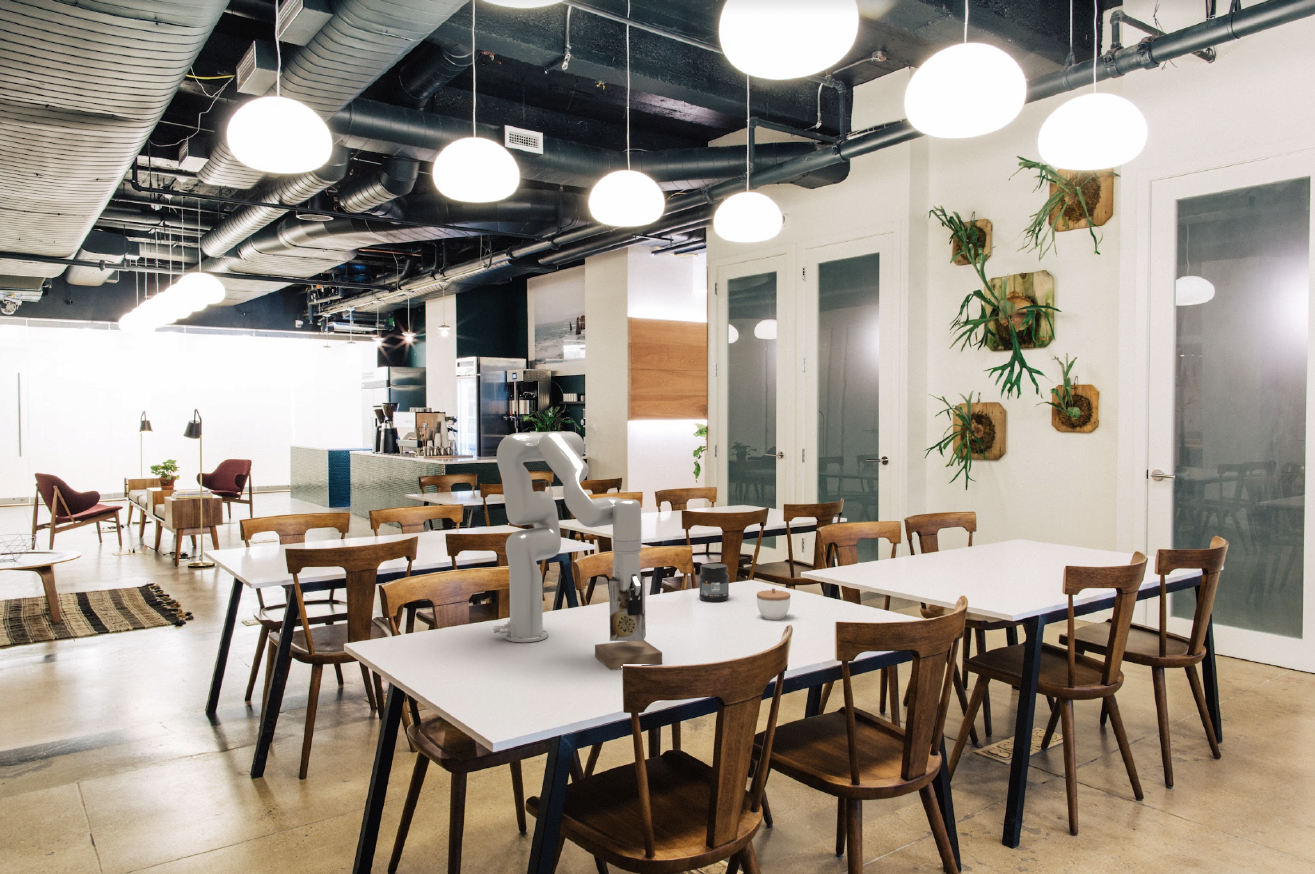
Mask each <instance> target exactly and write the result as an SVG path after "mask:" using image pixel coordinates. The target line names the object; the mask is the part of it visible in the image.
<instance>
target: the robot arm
mask: <svg viewBox="0 0 1315 874" xmlns="http://www.w3.org/2000/svg"><path fill="white" fill-rule="evenodd" d="M585 449H586V448H585V442H584V439H583V438H582V437H581V435H580V434H578V433H576V432H574V431H551V432H549V431H548V432H517V433H516V432H515V433H511V434H509V435H507V436H504V438H503V439H501V441H500V442H499V444H498V446H497V450H496V462H497V466H498V470H499V474H500V477H501V481H502V491H503V498H504V505H505V510H506V511H505V513H506V516H507V520H508V522H510V524H512V525H514V526H526V525H533V527H534V528H528V529H527V528H526V529H520V530H517V531H515V532H513V533H511V534H510V535H509V536H507V537H508V538H507V539H506V542H505V554H506V559H507V563H508V564H507V565H508V575H509V576H508V578H509V579H508V580H509V620H508V621H506V622H507V623H505V624H504V625H495V626H493V633H494V634H497V633H499V634H500V635H502V634H504V639H505V640H506V641H509V642H513V643H532V642H539V641H543V640H545V639H547V638H548V636H549V631H548V630H546V629H543V626H544V623H543V621H544V619H543V616H544V615H543V611H544V610H543V608H544V605H543V574H542V571H541V569H540V567H539V565H538V563H537V562H538V561H542V560H549V559H551V558H553V557H556V556H557V555H558V554H559V552H560V550H561V545H562V538H561V537H562V536H561V535H562V534H561V529H560V522H559V514H558V507H557V504H556V502H555V500H554V498H553V496H552V495H551V494H550V493H548V492H546V491H541V490H538V491H534V489H533V481H532V477H531V474H530V472H529V470H528V469H527V467H526V465H524V463H525V462H527V463H528V462H545V463H546V464H547V465H548V466H549V468H550V469H551V470H552V471H553V473H554V474H555V475H556V476H557V478H558V479H559V481H560V482H561V483H562V495H563V500H564V503H565V506H566V508H567V509H568V510H569V512H570V513H571V514H572V516H573V517H574V518H575V519H576V520H577V522H579V523H580V524H581V525H582V526H585V527H586V528H596V527H601V526H602V527H604V526H610V525H611V526H612V552H613V560H612V562H613V563H612V577H615V578H616V579H617V580H619V581H620V590H621V591H626V590H627V594H628V598H629V600H627V613H628V615H629V616H632V615H639V614H640V589H641V586H640V585H641V576H642V574H641V559H640V553H642V505H641V502H640V500H637V499H632V498H631V499H628V498H626V499H623V498H619V497H616V496H604V497H597V498H591V497H590V496H589V495H588V494H587V492H586V491H585V490H584V488H583V487H582V485H581V483H582V482H583V481H584V480H585V479H586V477H587V476H588V474H589V471H590V469H589V466H588V464H587V463H586V462H585V460H584V459H583V458H582V457H583V455H584V453H585ZM631 581H632V583H633V585H634V588H629V587H630V584H631ZM631 592H632V595H631Z"/></svg>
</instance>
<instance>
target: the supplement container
mask: <svg viewBox="0 0 1315 874" xmlns="http://www.w3.org/2000/svg"><path fill="white" fill-rule="evenodd" d="M698 578H699V581H698V582H699V594H698V595H699V599H700V600H702V601H704V602H708V603H721V602H726V601H727V600H729V598H730V592H729V591H730V590H729V587H730V585H729V584H730V583H729V581H730V580H729V579H730V575H729V573H728V565H726V564H722V563H706V564H705V563H704V564H701V565H700V573H699V576H698Z"/></svg>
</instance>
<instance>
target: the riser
mask: <svg viewBox="0 0 1315 874" xmlns="http://www.w3.org/2000/svg"><path fill="white" fill-rule="evenodd" d="M594 656H595V657H596V658H597V659H598V660H599V661H600V662H602V663H603V664H604V665H605V666H606V667H607V666H608V667H607V668H608V669H610V670H611V671H614V670H613V669H615V670H622V669H621V666H623V664H657V665H662V664H663V652H662V651H661V650H660V649H658V648H657V647H656V646H654V645H652V644H651V643H649V642H648V641H647V640H645V639H644V641H614V642H608V643H607V642H606V643H599V644H598V643H597V644H594ZM618 668H620V669H618Z"/></svg>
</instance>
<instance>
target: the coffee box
mask: <svg viewBox="0 0 1315 874" xmlns="http://www.w3.org/2000/svg"><path fill="white" fill-rule="evenodd" d="M645 580H646V576H645V575H644V576H642V575H641V585H640V586H641V589H640V614H639V615H632V616H629V615H628V613H627V600H629V598H628V594H627V590H626V591H621V590H620V581H619V580H617V579H616V578H615V577H613V576H611V578H610V580H609V581H608V590H609V592H608V593H609V596H608V597H609V641H610V642H625V641H644V640H645V639H646V636H647V634H646V581H645ZM629 588H634V585H633V583H632V581H631V584H630V587H629ZM631 595H632V592H631Z"/></svg>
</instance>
